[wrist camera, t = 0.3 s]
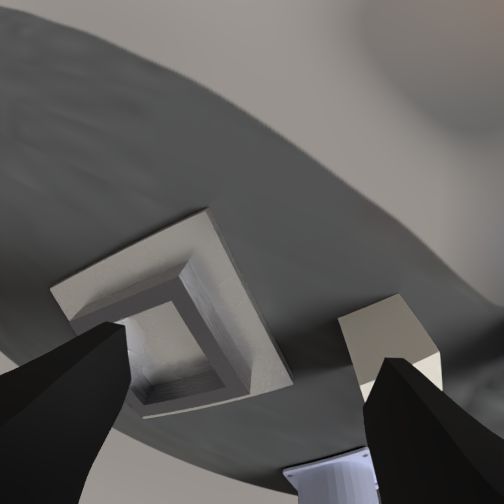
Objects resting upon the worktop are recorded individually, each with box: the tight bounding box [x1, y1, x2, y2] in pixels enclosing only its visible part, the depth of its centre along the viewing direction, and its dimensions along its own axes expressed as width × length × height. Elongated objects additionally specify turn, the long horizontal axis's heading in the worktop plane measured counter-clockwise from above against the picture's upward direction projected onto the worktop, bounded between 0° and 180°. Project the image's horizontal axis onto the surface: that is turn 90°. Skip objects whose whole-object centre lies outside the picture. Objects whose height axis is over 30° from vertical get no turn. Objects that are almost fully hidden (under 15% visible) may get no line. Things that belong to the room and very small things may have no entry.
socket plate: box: [50, 207, 294, 419], centre depth 18 cm, size 12×12×3 cm
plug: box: [338, 293, 443, 402], centre depth 15 cm, size 4×4×7 cm
